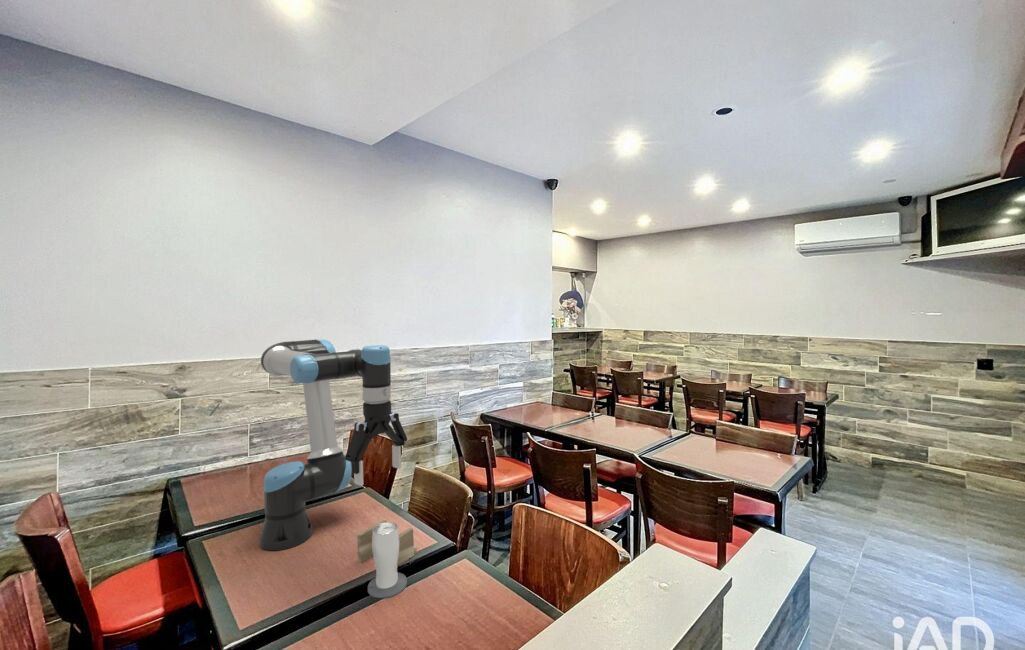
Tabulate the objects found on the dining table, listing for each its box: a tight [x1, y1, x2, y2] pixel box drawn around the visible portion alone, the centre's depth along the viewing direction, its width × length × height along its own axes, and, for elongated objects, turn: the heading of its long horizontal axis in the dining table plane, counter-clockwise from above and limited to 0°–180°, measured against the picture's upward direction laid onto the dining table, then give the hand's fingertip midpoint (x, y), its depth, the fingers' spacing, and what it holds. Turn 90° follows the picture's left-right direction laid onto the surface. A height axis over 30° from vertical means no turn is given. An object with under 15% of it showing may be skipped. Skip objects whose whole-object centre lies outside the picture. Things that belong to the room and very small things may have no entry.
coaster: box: [367, 571, 408, 599], centre depth 113 cm, size 10×10×1 cm
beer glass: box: [372, 521, 400, 591], centre depth 113 cm, size 7×7×15 cm
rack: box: [356, 519, 418, 568], centre depth 126 cm, size 12×11×8 cm
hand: (378, 475), depth 120 cm, fingers open, 13 cm apart
